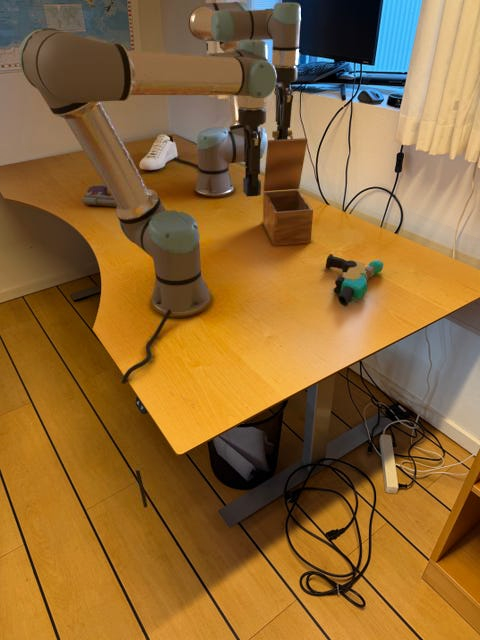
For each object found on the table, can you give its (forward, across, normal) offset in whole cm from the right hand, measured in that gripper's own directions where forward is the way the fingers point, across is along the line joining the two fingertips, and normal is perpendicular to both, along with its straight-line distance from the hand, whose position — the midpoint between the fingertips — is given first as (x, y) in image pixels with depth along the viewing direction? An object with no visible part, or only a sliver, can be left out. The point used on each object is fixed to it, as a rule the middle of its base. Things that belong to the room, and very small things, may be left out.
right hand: (281, 148), depth 153 cm
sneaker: (+25, +70, +41) cm, 84 cm away
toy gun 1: (+25, +28, +60) cm, 71 cm away
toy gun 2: (+25, -46, -8) cm, 53 cm away
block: (+7, -19, +13) cm, 24 cm away
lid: (+4, -5, 0) cm, 7 cm away
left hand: (+7, -19, +13) cm, 24 cm away
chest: (+25, -10, 0) cm, 27 cm away
